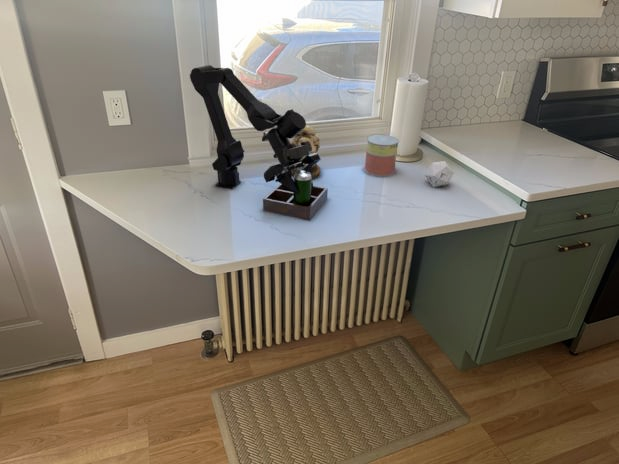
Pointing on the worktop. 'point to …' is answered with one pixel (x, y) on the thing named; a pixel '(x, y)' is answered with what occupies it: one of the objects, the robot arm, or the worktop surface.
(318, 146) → the beige bust sculpture
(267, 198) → the rack
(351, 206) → the worktop surface
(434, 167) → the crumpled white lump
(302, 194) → the beer can
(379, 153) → the canned food
